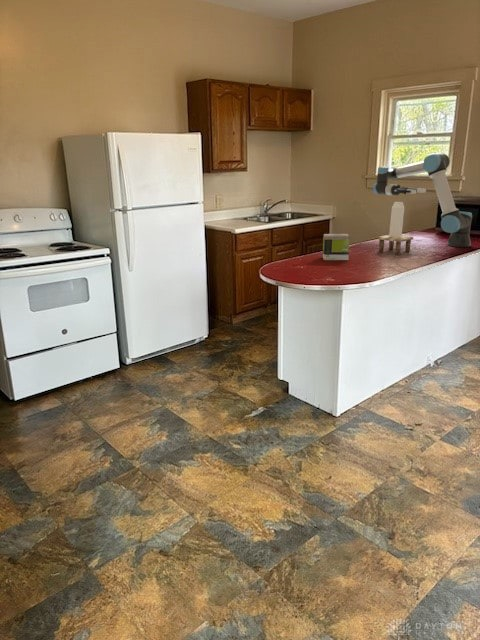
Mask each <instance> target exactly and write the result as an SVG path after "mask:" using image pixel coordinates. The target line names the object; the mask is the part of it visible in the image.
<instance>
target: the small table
mask: <svg viewBox="0 0 480 640" xmlns="http://www.w3.org/2000/svg"><path fill="white" fill-rule="evenodd" d="M377 240H379V243H378V252H377V253H384V248H385V247H384V246H385V241H389V242H388V250H389V251H394V255H395V256H400V255H401V249H402V248H401V245H402V243H403V242H405V246H404V247H405V248H404V253H405V252H406V254H407V253H409V252H411V244H412V243H411V242H412V240H414V236H409V235H408V236H407V235H402V236H401V237H399V238H394V237H389V234H385V235H384V234H383V235H380V236H377ZM394 245H395V249H394ZM409 254H410V253H409Z"/></svg>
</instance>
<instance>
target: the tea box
mask: <svg viewBox="0 0 480 640" xmlns="http://www.w3.org/2000/svg"><path fill="white" fill-rule="evenodd" d="M322 237H323V238H322V240H323V241H322V258H323V260H324V261H349V260H350V259H349V257H350V256H349V255H350V238H351V237H350V235H349V234H348V233H324V234H323V236H322Z"/></svg>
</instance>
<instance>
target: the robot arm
mask: <svg viewBox="0 0 480 640" xmlns="http://www.w3.org/2000/svg"><path fill="white" fill-rule="evenodd" d="M450 162H451V160H450V156H448V155H447V154H446V153H437V152H436V153H435V152H434V153H433V152H432V153H429V154H428V155H426V156H425V157H424V159H423V161H419V162H415V163H411V164H408V165H407V164H406V165H403V166H399V167H394V168H390V167H389V166H379V167H378V168H377V176H376V183H374V184H373V187H372V192H373V194H376V195H384V196H385V195H386V196H387V195H388V196H389V197H390V196H399V195H400V194H404V195H407V194H411V195H416V194H417V193H418V194H419V193H423V194H425V193H427V188H420V187H416V188H415V187H413V188H412V187H404V186H403V187H402V186H401V185H400V184H393V183H388V181H391V180H397V179H399V178H401V179H402V178H405V177H409V176H413V175H418V174H419V175H420V174H422V173H427V174H428V177H429V178H430V179H432V183H433V187H434V189H435V194H436V196H437V198H438V202H439V206H440V209H441V212H442V213H441V215H440V218H441V221H440V227H441V229H442V230H443V231H444V232H446V233H449V234H450V235H449V238H448V239H447V241H446V246H450V247H454V248H455V247H456V248H457V247H458V248H468V247H471V238H470V237H471V236H470V231H471V225H472V220H473V214H472V212H470V211H469V212H468V211H460V209H459V208H457V207H456V204H455V201H454V196H453V193H452V192H451V191H452V190H451V188H450V184H449V181H448V178H447V175H446V173H447V171H448V167H449V166H450Z"/></svg>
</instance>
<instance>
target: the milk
mask: <svg viewBox="0 0 480 640" xmlns="http://www.w3.org/2000/svg"><path fill="white" fill-rule="evenodd" d="M393 202H394V203H393V205H392V206H391V212H390V222H389V233H388V235H389V237H394V238H399V237H401V236H403V235H402V234H403V226H404V225H403V224H404V215H405V205H404V202H403V201H393Z"/></svg>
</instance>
